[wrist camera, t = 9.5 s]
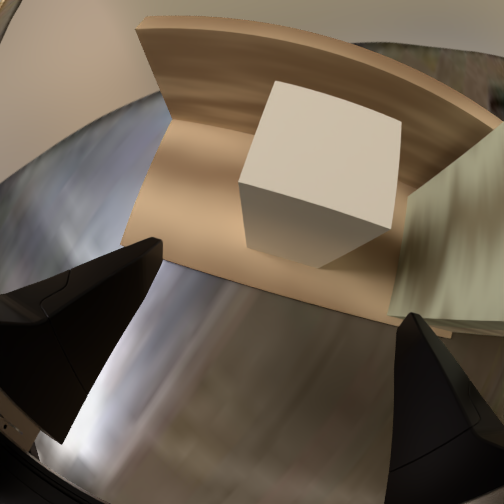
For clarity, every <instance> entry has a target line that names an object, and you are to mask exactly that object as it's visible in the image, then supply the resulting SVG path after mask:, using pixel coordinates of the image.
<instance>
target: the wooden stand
mask: <svg viewBox="0 0 504 504" xmlns="http://www.w3.org/2000/svg"><path fill="white" fill-rule="evenodd" d="M135 30H136V33H137V35H138V38H139V40H140V43H141V45H142V47H143V50H144V52H145V55H146V57H147V60H148V62H149V64H150V67H151V69H152V71H153V74H154V77H155V79H156V81H157V84H158V86H159V88H160V91H161V93H162V96H163V98H164V100H165V103H166V105H167V107H168V110H169V112H170V114H171V117H172V121H171V123H170V125H169V127H168V129H167V131H166V133H165V135H164V137H163V139H162V141H161V144H160V146H159V148H158V150H157V152H156V154H155V157H154V159H153V161H152V163H151V166H150V168H149V170H148V173H147V175H146V177H145V180H144V182H143V184H142V187H141V189H140V192H139V194H138V197H137V199H136V202H135V204H134V207H133V210H132V212H131V215H130V218H129V220H128V223H127V226H126V229H125V232H124V235H123V237H122V240H121V243H120V245H122V246H124V247H126V246H128V245H131V244H134V243H136V242H139V241H141V240H144V239H147V238H149V237H155V238H159V239H161V240H162V241H163V259H164V260H167V261H170V262H173V263H176V264H179V265H182V266H185V267H188V268H192V269H195V270H198V271H201V272H204V273H208V274H211V275H214V276H217V277H221V278H224V279H227V280H230V281H234V282H237V283H240V284H244V285H247V286H250V287H254V288H257V289H261V290H264V291H268V292H271V293H274V294H278V295H281V296H285V297H288V298H292V299H295V300H299V301H303V302H306V303H310V304H313V305H317V306H321V307H324V308H328V309H332V310H336V311H339V312H343V313H347V314H351V315H354V316H358V317H362V318H366V319H370V320H374V321H378V322H382V323H386V324H390V325H394V326H398V327H399V325H400V324H401V323H402V321H403V320H404V319H405V317H406V316H407V314H408V313H410V312H413V313H417V314H420V315H421V316H422V318H423V319H424V320H425V321H426V322H427V324H428V325H429V326H430V327H431V329H432V330H433V331H434V332H435V334H436V335H437V336H440V337H444V338H450V339H451V335H452V332H459V333H469V334H479V335H491V336H503V337H504V122H503V121H501V120H500V119H499V118H497V117H496V116H494V115H493V114H491V113H490V112H489V111H487V110H486V109H484V108H483V107H481V106H480V105H478V104H477V103H475V102H474V101H472V100H470V99H469V98H467V97H466V96H464V95H462V94H461V93H459V92H457V91H455V90H454V89H452V88H450V87H448V86H447V85H445V84H443V83H441V82H439V81H437V80H436V79H434V78H432V77H430V76H428V75H426V74H424V73H422V72H420V71H418V70H416V69H413V68H411V67H409V66H407V65H405V64H402V63H400V62H398V61H396V60H393V59H391V58H388V57H386V56H383V55H381V54H378V53H376V52H373V51H370V50H368V49H365V48H362V47H359V46H356V45H353V44H350V43H347V42H344V41H341V40H337V39H334V38H330V37H327V36H323V35H319V34H316V33H312V32H308V31H303V30H299V29H295V28H290V27H285V26H280V25H274V24H269V23H263V22H255V21H249V20H240V19H232V18H221V17H206V16H149V17H148V16H147V17H145V19H144V20H143V21H142V22H141V23H140V24H139V25H138V26H137V28H136V29H135ZM275 81H280V82H284V83H288V84H292V85H296V86H300V87H303V88H307V89H311V90H314V91H318V92H321V93H324V94H328V95H331V96H334V97H337V98H340V99H343V100H346V101H349V102H352V103H355V104H358V105H361V106H363V107H366V108H369V109H371V110H374V111H376V112H379V113H382V114H384V115H386V116H389V117H391V118H394V119H396V120H398V121H401V122H402V123H401V144H400V158H399V170H398V180H397V189H396V197H395V205H394V212H393V219H392V225H391V230H389V231H387V232H385V233H383V234H382V235H380V236H378V237H376V238H374V239H373V240H371V241H369V242H367V243H365V244H363V245H362V246H360V247H358V248H356V249H354V250H352V251H350V252H349V253H347V254H345V255H343V256H341V257H339V258H337V259H335V260H334V261H332V262H330V263H328V264H326V265H324V266H322V267H320V268H315V267H311V266H308V265H304V264H301V263H298V262H294V261H291V260H288V259H284V258H281V257H277V256H274V255H271V254H267V253H264V252H260V251H257V250H254V249H250V248H247V245H246V238H245V230H244V223H243V215H242V207H241V200H240V192H239V185H238V181H239V178H240V175H241V172H242V169H243V166H244V164H245V161H246V158H247V155H248V152H249V150H250V147H251V144H252V141H253V139H254V136H255V133H256V130H257V128H258V125H259V122H260V119H261V117H262V114H263V111H264V109H265V106H266V103H267V101H268V98H269V95H270V93H271V90H272V88H273V85H274V82H275Z"/></svg>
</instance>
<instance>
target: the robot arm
mask: <svg viewBox="0 0 504 504" xmlns="http://www.w3.org/2000/svg"><path fill="white" fill-rule="evenodd" d="M162 261H163V241H162V240H161V239H159V238H155V237H149V238H147V239H144V240H141V241H139V242H136V243H134V244H131V245H128V246H126V247H123V248H121V249H118V250H116V251H113V252H111V253H108V254H106V255H103V256H101V257H98V258H96V259H93V260H91V261H89V262H86V263H84V264H81V265H79V266H77V267H74V268H72V269H71V270H67V271H65V272H62V273H60V274H58V275H55V276H53V277H50V278H48V279H45V280H42V281H40V282H37V283H34V284H31V285H28V286H26V287H23V288H20V289H17V290H14V291H12V292H9V293H6V294H1V295H0V504H110V503H108V502H106V501H104V500H102V499H100V498H98V497H96V496H95V495H93V494H91V493H89V492H87V491H85V490H84V489H82V488H80V487H79V486H77V485H75V484H73V483H72V482H70V481H69V480H67V479H65V478H64V477H62V476H61V475H59V474H58V473H56V472H55V471H53V470H52V469H50V468H49V467H47V466H46V465H45V464H43V463H42V462H40V460H39V456H38V453H37V449H36V446H35V442H34V441H35V439H36V437H37V435H38V433H39V432H40V430H41V431H42V432H44V433H45V434H46V435H48V436H49V437H51V438H52V439H54V440H55V441H57V442H58V443H60V444H61V445H62V444H63V442H64V440H65V438H66V436H67V434H68V432H69V430H70V428H71V426H72V424H73V422H74V421H75V419H76V417H77V415H78V413H79V411H80V409H81V407H82V405H83V403H84V401H85V400H86V398H87V395H88V394H89V392H90V390H91V388H92V386H93V385H94V383H95V381H96V379H97V377H98V376H99V374H100V372H101V370H102V369H103V367H104V365H105V363H106V362H107V360H108V358H109V356H110V355H111V353H112V351H113V350H114V348H115V346H116V345H117V343H118V341H119V340H120V338H121V336H122V335H123V333H124V331H125V330H126V328H127V326H128V325H129V323H130V321H131V320H132V318H133V317H134V315H135V313H136V312H137V310H138V309H139V307H140V305H141V304H142V302H143V300H144V299H145V297H146V295H147V293H148V291H149V289H150V287H151V285H152V283H153V281H154V278H155V276H156V274H157V272H158V270H159V268H160V266H161V264H162ZM469 380H470V379H469V378H468V376H467V375H466V374H465V372H464V371H463V369H462V368H461V367H460V365H459V364H458V363H457V361H456V360H455V358H454V357H453V356H452V354H451V353H450V352H449V351H448V349H447V348H446V347H445V345H444V344H443V343H442V341H441V340H440V339H439V338H438V336H437V335H436V334H435V332H434V331H433V330H432V329H431V327H430V326H429V325H428V324H427V322H426V321H425V320H424V319H423V318H422V316H421V315H420V314H417V313H413V312H410V313H408V314H407V316H406V317H405V319H404V320H403V321H402V323H401V324H400V325H399V327H398V329H397V333H396V350H395V364H394V416H393V434H392V448H391V458H390V467H389V472H390V473H389V475H388V482H387V489H386V496H385V502H384V504H504V425H503V424H502V423H501V421H500V420H499V419H498V417H497V416H496V415H495V413H494V412H493V411H492V409H491V408H490V407H489V405H488V404H487V403H486V401H485V400H484V399H483V397H482V396H481V395H480V393H479V392H478V390H477V389H476V388H475V386H474V385H473V383H472V382H471V381H469Z"/></svg>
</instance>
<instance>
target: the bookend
mask: <svg viewBox="0 0 504 504" xmlns="http://www.w3.org/2000/svg"><path fill="white" fill-rule="evenodd" d="M401 123H402V122H401V121H398V120H396V119H394V118H391V117H389V116H386V115H384V114H382V113H379V112H376V111H374V110H371V109H369V108H366V107H363V106H361V105H358V104H355V103H352V102H349V101H346V100H343V99H340V98H337V97H334V96H331V95H328V94H324V93H321V92H318V91H314V90H311V89H307V88H303V87H300V86H296V85H292V84H288V83H284V82H280V81H275V82H274V85H273V88H272V90H271V93H270V95H269V98H268V101H267V103H266V106H265V109H264V111H263V114H262V117H261V119H260V122H259V125H258V128H257V130H256V133H255V136H254V139H253V141H252V144H251V147H250V150H249V152H248V155H247V158H246V161H245V164H244V166H243V169H242V172H241V175H240V178H239V181H238V185H239V192H240V200H241V207H242V215H243V223H244V230H245V238H246V245H247V248H250V249H254V250H257V251H260V252H264V253H267V254H271V255H274V256H277V257H281V258H284V259H288V260H291V261H294V262H298V263H301V264H304V265H308V266H311V267H315V268H320V267H322V266H324V265H326V264H328V263H330V262H332V261H334V260H335V259H337V258H339V257H341V256H343V255H345V254H347V253H349V252H350V251H352V250H354V249H356V248H358V247H360V246H362V245H363V244H365V243H367V242H369V241H371V240H373V239H374V238H376V237H378V236H380V235H382V234H383V233H385V232H387V231H389V230H391V225H392V219H393V212H394V205H395V197H396V189H397V180H398V170H399V158H400V144H401Z"/></svg>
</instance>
